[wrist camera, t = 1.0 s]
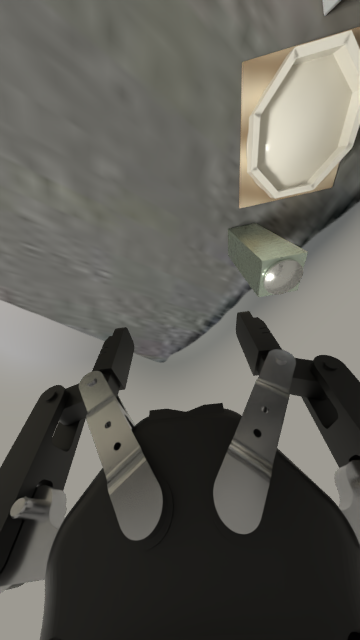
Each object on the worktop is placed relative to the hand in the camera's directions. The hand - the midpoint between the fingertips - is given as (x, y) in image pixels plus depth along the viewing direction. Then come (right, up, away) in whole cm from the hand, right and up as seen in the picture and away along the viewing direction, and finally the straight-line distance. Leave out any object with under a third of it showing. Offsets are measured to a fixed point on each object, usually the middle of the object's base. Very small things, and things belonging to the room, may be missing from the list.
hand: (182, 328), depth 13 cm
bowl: (+16, +27, +12) cm, 34 cm away
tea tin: (+12, +16, +21) cm, 29 cm away
